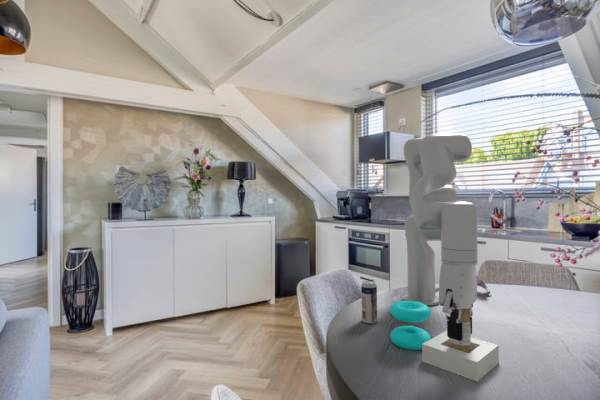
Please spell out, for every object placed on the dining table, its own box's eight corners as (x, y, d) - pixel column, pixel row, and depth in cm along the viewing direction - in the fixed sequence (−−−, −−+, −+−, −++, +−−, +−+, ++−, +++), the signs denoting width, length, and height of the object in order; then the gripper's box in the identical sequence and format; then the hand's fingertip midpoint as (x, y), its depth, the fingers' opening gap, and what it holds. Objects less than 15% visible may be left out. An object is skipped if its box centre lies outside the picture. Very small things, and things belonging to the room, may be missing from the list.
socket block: (446, 346, 87) (446, 330, 87) (498, 362, 78) (498, 345, 78) (422, 361, 79) (422, 344, 79) (477, 381, 70) (477, 362, 70)
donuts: (438, 305, 87) (414, 313, 82) (439, 345, 87) (415, 355, 82) (406, 297, 96) (382, 303, 90) (406, 332, 96) (382, 342, 90)
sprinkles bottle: (446, 351, 81) (445, 294, 80) (465, 351, 81) (464, 294, 80) (454, 361, 76) (454, 300, 76) (475, 360, 76) (474, 300, 76)
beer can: (377, 325, 102) (377, 284, 102) (361, 324, 103) (360, 284, 103) (377, 319, 106) (376, 280, 106) (361, 318, 107) (361, 280, 107)
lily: (483, 302, 126) (496, 280, 126) (453, 284, 134) (466, 263, 134) (491, 305, 135) (503, 284, 134) (463, 288, 143) (474, 268, 142)
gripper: (458, 250, 87) (459, 322, 87) (425, 258, 75) (425, 341, 75) (490, 253, 81) (491, 330, 81) (459, 263, 70) (460, 352, 70)
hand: (459, 334), depth 78 cm, fingers closed on sprinkles bottle, 4 cm apart
